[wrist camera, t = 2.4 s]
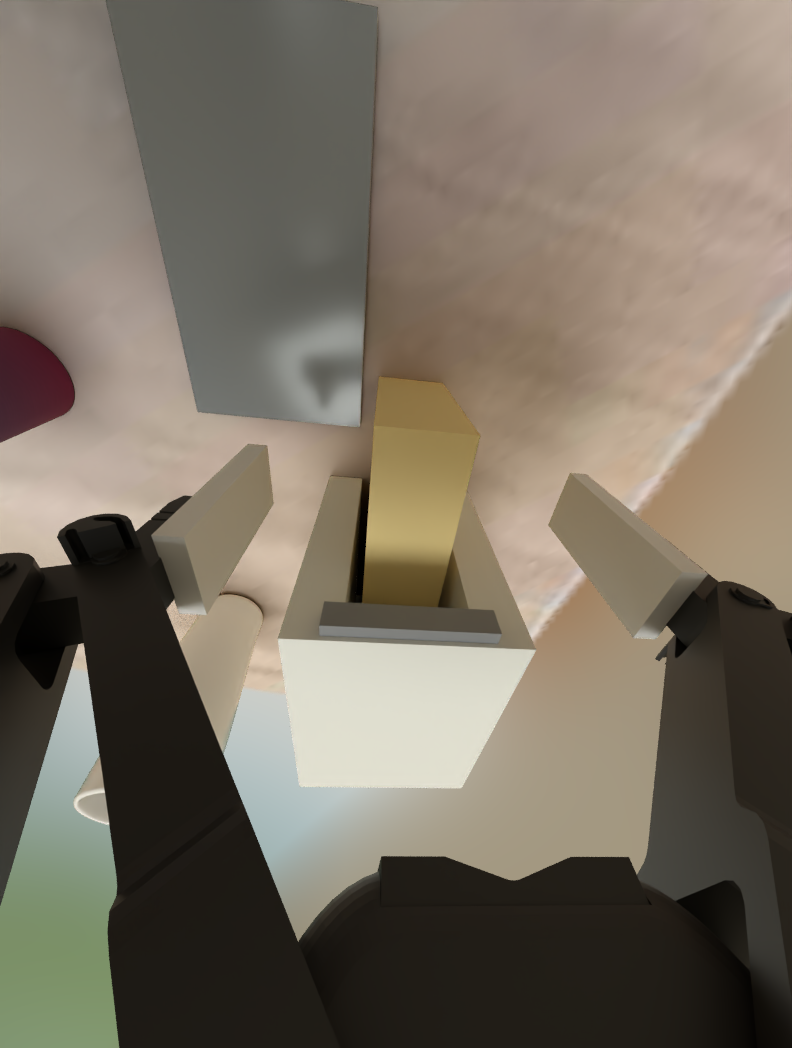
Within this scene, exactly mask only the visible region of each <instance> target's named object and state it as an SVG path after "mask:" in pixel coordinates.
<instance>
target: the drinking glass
mask: <svg viewBox="0 0 792 1048" xmlns="http://www.w3.org/2000/svg"><path fill="white" fill-rule="evenodd" d="M262 622H263V615H262V612H261V610H260V608H259V607H258V606H257V605H256V604H255V603H254V602H252V601H251V600H249V599H247V598H245V597H242V596H238V595H232V594H226V595H220V596H218V597H217V599H216V601H215V602H214V604H213V606H212V607H211V609H210V611H209V612H208V614H207V615H199V616H198V617H197V619H196V620H195V622H194V623H193V625H192V626H191V627H190V629H189V630H188V631H187V633H186V634H185V636H184V637H183V638H182V640H181V641H180V642H179V644H180V646H181V649H182V651H183V654H184V656H185V659H186V661H187V664H188V666H189V669H190V672H191V674H192V677H193V679H194V682H195V684H196V687H197V689H198V692H199V694H200V697H201V699H202V702H203V704H204V707H205V709H206V712H207V714H208V717H209V719H210V722H211V725H212V727H213V730H214V732H215V735H216V737H217V740H218V742H219V745H220V747H221V750H222V752H223V753H224V750H225V747H226V744H227V741H228V738H229V735H230V731H231V728H232V724H233V721H234V717H235V714H236V710H237V706H238V702H239V699H240V696H241V692H242V688H243V685H244V681H245V678H246V674H247V670H248V667H249V663H250V660H251V656H252V653H253V649H254V646H255V643H256V639H257V636H258V634H259V631H260V629H261V626H262ZM73 805H74V807H75V809H76V810H77V811H78V812H79V813H80V814H82V815H83V816H85V817H87V818H89V819H92V820H94V821H97V822H100V823H103V824H107V825H109V818H108V811H107V804H106V797H105V790H104V783H103V776H102V769H101V762H100V756H99V757H98V759H97V761H96V762H95V764H94V766H93V767H92V769H91V771H90V772H89V774H88V776H87V778H86V779H85V781H84V783H83V785H82V786H81V788H80V790H79V791H78V793H77V795H76V796H75V798H74V802H73Z"/></svg>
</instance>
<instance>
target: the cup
mask: <svg viewBox="0 0 792 1048" xmlns="http://www.w3.org/2000/svg"><path fill="white" fill-rule="evenodd" d="M73 401H74V389H73V384H72V381H71V379H70V377H69V374H68V373H67V371H66V369H65V368H64V366H63V365H62V364H61V362H60V361H59V360H58V359H57V357H56V356H55V355H54V354H53V353H52V352H51V351H50V350H49V349H47V348H46V347H45V346H44V345H42V344H41V343H40V342H39V341H37V340H35V339H34V338H32V337H30V336H29V335H27V334H24V333H22V332H20V331H18V330H14V329H11V328H7V327H0V443H1V442H3V441H5V440H7V439H10V438H12V437H14V436H16V435H19V434H21V433H23V432H26V431H28V430H30V429H32V428H35V427H37V426H39V425H41V424H44V423H46V422H48V421H50V420H53V419H55V418H57V417H59V416H62V415H64V414H65V413H67V412H68V411H69V410H70V408H71V407H72V405H73Z"/></svg>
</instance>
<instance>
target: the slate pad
mask: <svg viewBox="0 0 792 1048" xmlns="http://www.w3.org/2000/svg"><path fill="white" fill-rule="evenodd" d="M106 3H107V8H108V12H109V17H110V21H111V26H112V30H113V35H114V39H115V44H116V48H117V53H118V57H119V62H120V66H121V70H122V75H123V79H124V84H125V88H126V93H127V97H128V102H129V106H130V111H131V115H132V120H133V124H134V129H135V133H136V138H137V142H138V147H139V151H140V156H141V160H142V165H143V169H144V174H145V178H146V182H147V187H148V191H149V196H150V200H151V205H152V209H153V214H154V218H155V223H156V227H157V232H158V236H159V241H160V245H161V250H162V254H163V259H164V263H165V268H166V272H167V277H168V281H169V285H170V290H171V294H172V299H173V303H174V308H175V312H176V317H177V321H178V326H179V330H180V335H181V339H182V344H183V348H184V353H185V357H186V362H187V366H188V371H189V375H190V380H191V384H192V389H193V393H194V397H195V402H196V406H197V411H198V412H202V413H213V414H224V415H234V416H245V417H256V418H266V419H277V420H288V421H298V422H309V423H319V424H330V425H341V426H351V427H360V423H361V400H362V378H363V355H364V332H365V309H366V286H367V263H368V240H369V217H370V194H371V171H372V149H373V126H374V103H375V80H376V57H377V34H378V7H374V6H369V5H364V4H359V3H353V2H348V1H343V0H106Z"/></svg>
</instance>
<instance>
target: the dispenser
mask: <svg viewBox="0 0 792 1048" xmlns="http://www.w3.org/2000/svg"><path fill="white" fill-rule="evenodd" d="M361 493H362V478H350V477H338V476H330V479H329V482H328V485H327V488H326V491H325V494H324V497H323V500H322V503H321V507H320V510H319V513H318V516H317V519H316V522H315V525H314V528H313V531H312V534H311V537H310V541H309V544H308V547H307V550H306V553H305V556H304V559H303V562H302V565H301V568H300V571H299V575H298V578H297V581H296V584H295V587H294V590H293V593H292V596H291V599H290V602H289V605H288V609H287V612H286V615H285V618H284V621H283V624H282V627H281V630H280V633H279V636H278V644H279V650H280V657H281V664H282V671H283V678H284V684H285V691H286V697H287V705H288V711H289V719H290V724H291V732H292V738H293V746H294V753H295V759H296V766H297V772H298V779H299V786H300V787H387V788H389V787H390V788H462V786H463V784H464V783H465V781H466V779H467V777H468V775H469V773H470V771H471V769H472V768H473V766H474V764H475V762H476V760H477V758H478V757H479V755H480V753H481V751H482V749H483V747H484V745H485V744H486V742H487V740H488V738H489V736H490V734H491V732H492V731H493V729H494V727H495V725H496V723H497V721H498V720H499V718H500V716H501V714H502V712H503V710H504V708H505V707H506V705H507V703H508V701H509V699H510V697H511V696H512V694H513V692H514V690H515V688H516V686H517V684H518V682H519V681H520V679H521V677H522V675H523V673H524V671H525V669H526V668H527V666H528V664H529V662H530V660H531V659H532V657H533V655H534V653H535V651H536V648H535V646H534V644H533V641H532V639H531V637H530V635H529V632H528V630H527V628H526V625H525V623H524V621H523V618H522V616H521V614H520V612H519V609H518V607H517V605H516V602H515V600H514V598H513V595H512V593H511V591H510V589H509V586H508V584H507V582H506V579H505V577H504V575H503V572H502V570H501V568H500V566H499V563H498V561H497V559H496V556H495V554H494V552H493V549H492V547H491V545H490V543H489V540H488V538H487V536H486V533H485V531H484V529H483V526H482V524H481V522H480V519H479V517H478V515H477V513H476V510H475V508H474V506H473V503H472V501H471V499H470V496H469V494H468V492H467V491H466V495H465V499H464V503H463V507H462V511H461V515H460V519H459V523H458V527H457V531H456V535H455V539H454V543H453V547H452V551H451V555H450V559H449V564H448V568H447V572H446V576H445V580H444V584H443V588H442V592H441V596H440V600H439V604H438V607H423V606H404V605H385V604H366V603H362V598H363V596H358V595H356V590H357V571H358V551H359V532H360V512H361Z"/></svg>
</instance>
